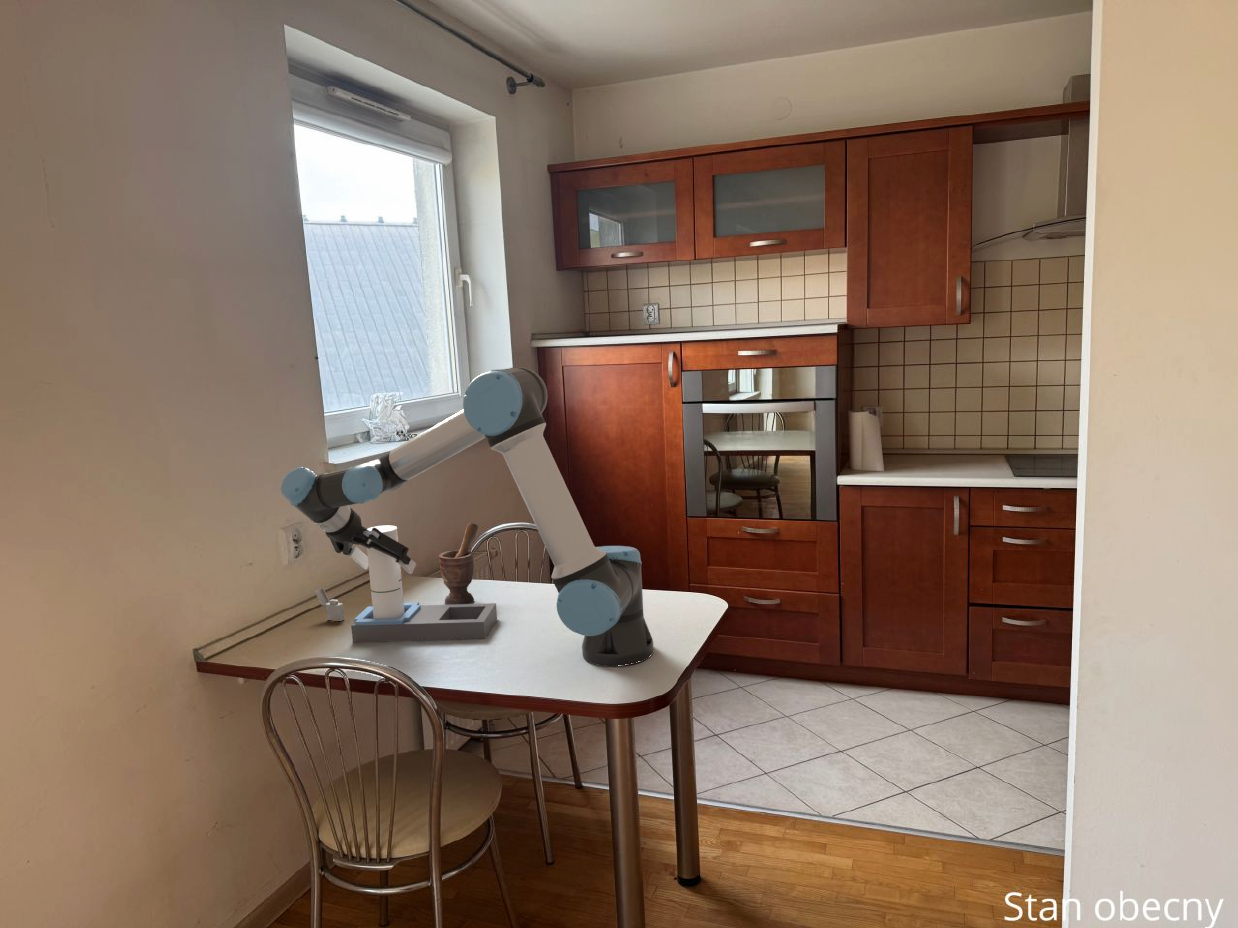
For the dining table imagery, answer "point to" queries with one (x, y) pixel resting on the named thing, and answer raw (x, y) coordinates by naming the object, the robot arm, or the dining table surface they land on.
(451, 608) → the socket rack
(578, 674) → the dining table surface
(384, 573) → the cylindrical container
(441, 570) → the mortar and pestle
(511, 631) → the dining table surface
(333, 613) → the lighter
